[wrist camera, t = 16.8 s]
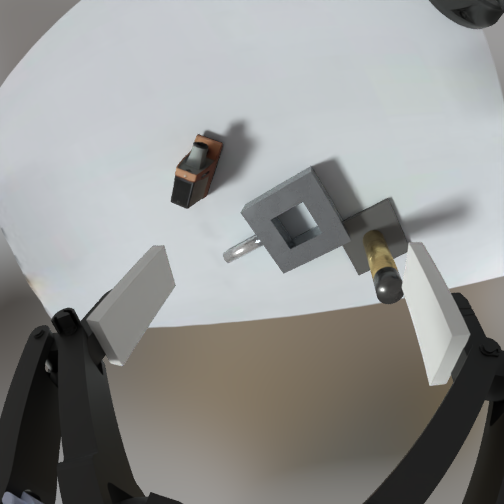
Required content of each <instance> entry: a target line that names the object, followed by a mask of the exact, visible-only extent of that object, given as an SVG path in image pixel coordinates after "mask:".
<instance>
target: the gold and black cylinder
mask: <svg viewBox="0 0 504 504" xmlns="http://www.w3.org/2000/svg"><path fill="white" fill-rule="evenodd" d="M363 245H364V249H365V252H366V256H367V259H368V263H369V267H370V270H371V274H372V278H373V282H374V286H375V290H376V294H377V298H378V300H379V301H380V302H382V303H385V304H392V303H395V302H397V301H399V300H400V299H401V298H402V297H403V295H404V293H403V290H402V283H403V282H402V280H401V277H400V275H399V272H398V270H397V267H396V265H395V262H394V260H393V257H392V255H391V253H390V250H389V248H388V245H387V243H386V241H385V239H384V236H383V234H382V233H381V232H380V231H377V230H371V231H368V232H367V233H366V234H365V235H364V237H363Z"/></svg>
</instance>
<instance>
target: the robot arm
mask: <svg viewBox="0 0 504 504" xmlns="http://www.w3.org/2000/svg"><path fill="white" fill-rule="evenodd" d="M429 1H430V2H431V3H432V4H433V5H434V6H435V7H436V8H437V9H438V10H439V11H440V12H441V13H442V14H444V15H445V16H446V17H448V18H449V19H450V20H452V21H454V22H456V23H457V24H459V25H462V26H464V27H467V28H472V29H482V28H485V27H489V26H491V25H493V24H495V23H496V22H497V21H498V19H499V18H500V17H501V15H502V14H503V13H504V0H429ZM175 286H176V285H175V282H174V278H173V275H172V271H171V268H170V264H169V261H168V257H167V254H166V250H165V246H164V245H161V246H152V247H151V248H150V249H149V250H148V251H147V252H146V253H145V255H144V256H143V257H142V258H141V259H140V260H139V261H138V262H137V263H136V264H135V265H134V266H133V267H132V268H131V269H130V270H129V272H128V273H127V274H126V275H125V276H124V277H123V278H122V279H121V280H120V281H119V282H118V284H117V285H116V286H115V287H114V288H113V289H111V290H110V291H108V292H107V293H105V294H104V295H103V296H102V297H101V299H100V300H99V302H97V303H96V304H95V305H94V307H93V308H92V309H91V310H90V311H89V312H88V313H87V314H86V316H85V317H84V318H83V319H82V320H81V321H80V320H79V318H78V316H77V314H76V312H75V310H74V309H72V308H65V309H62V310H60V311H59V312H57V313H56V314H55V315H54V316H53V318H52V320H51V321H52V323H53V325H54V327H55V329H56V330H57V332H58V333H52V332H51V330H50V328H49V327H48V326H46V325H43V326H39V327H37V328H35V329H34V330H33V331H32V333H31V334H30V336H29V338H28V341H27V343H26V345H25V348H24V350H23V353H22V355H21V358H20V360H19V363H18V366H17V368H16V371H15V374H14V377H13V379H12V382H11V385H10V388H9V391H8V394H7V398H6V401H5V404H4V407H3V411H2V414H1V418H0V504H55V500H56V489H57V476H58V482H59V487H60V493H61V498H62V503H63V504H182V503H181V502H179V501H176V500H173V499H170V498H167V497H164V496H160V495H158V494H155V493H152V492H150V495H149V497H145V495H144V494H143V492H142V490H141V489H140V488H139V486H138V485H137V484H136V482H135V480H134V478H133V474H132V471H131V469H130V465H129V462H128V459H127V456H126V453H125V449H124V446H123V442H122V439H121V435H120V432H119V428H118V424H117V420H116V416H115V412H114V408H113V403H112V398H111V394H110V389H109V384H108V379H107V373H106V368H105V364H104V362H103V360H102V359H103V358H104V356H105V355H106V356H107V358H108V360H109V361H110V363H112V364H116V365H120V366H123V365H124V364H125V362H126V361H127V359H128V357H129V356H130V354H131V353H132V351H133V350H134V348H135V346H136V345H137V343H138V342H139V340H140V339H141V337H142V336H143V334H144V332H145V331H146V329H147V328H148V326H149V325H150V323H151V322H152V320H153V319H154V317H155V316H156V314H157V313H158V311H159V310H160V308H161V307H162V305H163V304H164V302H165V301H166V299H167V298H168V296H169V295H170V293H171V292H172V290H173V289H174V287H175ZM402 290H403V293H404V296H405V299H406V302H407V305H408V308H409V311H410V314H411V318H412V321H413V324H414V327H415V331H416V334H417V338H418V341H419V345H420V348H421V352H422V356H423V360H424V364H425V368H426V372H427V376H428V380H429V385H430V386H432V385H439V384H446V383H447V381H448V379H449V377H450V375H452V378H453V384H452V386H451V388H450V389H449V391H448V393H447V394H446V396H445V398H444V400H443V401H442V403H441V405H440V406H439V408H438V409H437V411H436V413H435V414H434V416H433V418H432V419H431V420H430V422H429V423H428V425H427V426H426V428H425V429H424V431H423V432H422V434H421V435H420V436H419V438H418V439H417V440H416V442H415V443H414V445H413V446H412V447H411V449H410V450H409V451H408V453H407V454H406V455H405V456H404V458H403V459H402V460H401V461H400V463H399V464H398V465H397V466H396V468H395V469H394V470H393V471H392V472H391V474H390V475H389V476H388V477H387V478H386V479H385V480H384V482H383V483H382V484H381V485H380V486H379V487H378V488H377V489H376V490H375V491H374V493H373V494H372V495H371V496H370V497H369V498H368V499H367V500H366V501H365V502H364V503H363V504H424V503H425V502H426V500H427V499H428V498H429V496H430V495H431V493H432V492H433V491H434V489H435V488H436V486H437V485H438V483H439V482H440V480H441V479H442V478H443V476H444V475H445V473H446V472H447V470H448V468H449V467H450V465H451V464H452V462H453V460H454V459H455V457H456V455H457V454H458V452H459V450H460V449H461V447H462V445H463V443H464V441H465V440H466V438H467V436H468V434H469V432H470V430H471V428H472V426H473V424H474V422H475V420H476V418H477V416H478V414H479V412H480V410H481V407H482V405H483V403H484V401H485V400H487V401H489V407H488V413H487V418H486V423H485V428H484V433H483V437H482V442H481V446H480V450H479V454H478V457H477V461H476V464H475V468H474V471H473V474H472V477H471V480H470V483H469V486H468V489H467V492H466V495H465V497H464V500H463V502H462V504H504V351H502V350H501V347H500V346H499V345H498V343H497V342H495V341H494V340H493V339H491V338H487V337H486V336H485V334H484V331H483V329H482V327H481V326H480V323H479V321H478V319H477V317H476V316H475V313H474V311H473V310H472V309H471V306H470V304H469V302H468V300H467V299H466V298H465V297H464V296H463V295H462V294H461V293H450V291H449V289H448V287H447V285H446V283H445V281H444V279H443V278H442V276H441V274H440V272H439V270H438V268H437V267H436V265H435V263H434V261H433V260H432V258H431V256H430V255H429V253H428V251H427V250H426V248H425V246H424V245H423V243H422V242H409V244H408V252H407V259H406V265H405V271H404V277H403V283H402ZM45 364H46V365H47V367H48V368H49V369H48V372H46V370H45ZM61 437H62V447H63V454H64V461H63V462H60V463H58V460H59V449H60V440H61Z"/></svg>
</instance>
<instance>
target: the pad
mask: <svg viewBox="0 0 504 504" xmlns="http://www.w3.org/2000/svg"><path fill="white" fill-rule="evenodd" d="M343 222H344V224H345V226H346V228H347V229H348V231H349V234H350V238H351V241H350V242H348V243H346V244H344V245H342V246H343V247H344V249H345V251H346V253H347V255H348V256H349V258H350V260H351V262H352V264H353V266H354V267H355V269H356V271H357V273H358V275H361V274H363V273H365V272H367V271H369V270H370V267H369V263H368V259H367V256H366V252H365V249H364V245H363V237H364V235H365V234H366V233H367V232H368V231H371V230H377V231H380V232H381V233H382V234H383V236H384V239H385V241H386V243H387V245H388V248H389V250H390V253H391V255H392V257H393V259H394V258H396V257H398V256H400V255H402V254H404V253H406V252H408V243H407V241H406V238H405V236H404V233H403V231H402V229H401V226H400V224H399V222H398V219H397V217H396V215H395V213H394V210H393V208H392V206H391V204H390V202H389V200H388V198H387V199H385V200H383V201H381V202H379V203H377V204H375V205H373V206H371V207H369V208H367V209H365V210H364V211H362V212H360V213H358V214H356V215H354V216H352V217H350V218H348V219H346V220H344V221H343Z"/></svg>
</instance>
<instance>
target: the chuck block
mask: <svg viewBox="0 0 504 504" xmlns="http://www.w3.org/2000/svg"><path fill="white" fill-rule="evenodd" d="M302 202H304V204H305V206H306V207H307V209H308V210H309V212H310V214H311V215H312V217H313V218H314V220H315V222H316V223H317V225H318V226H317V227H315V228H313V229H311V230H309V231H307V232H305V233H303V234H301V235H299V236H297V237H295V238H293V239H291V237H290V236H289V234H288V232H287V231H286V229H285V228H284V226H283V225H282V223H281V222H280V220H279V219H278V218H277V216H278V215H280V214H282V213H284V212H285V211H287V210H289V209H291V208H293V207H295V206H296V205H298V204H300V203H302ZM241 214H242V216H243V217H244V218H245V220H246V221H247V223H248V224H249V225H250V227H251V228H252V230H253V231H254V232H255V234H256V235H255V236H253V237H252V238H250V239H248V240H246V241H244V242H242V243H241V244H239V245H237V246H235V247H233V248H231V249H230V250H228V251H226V252H224V253H223V257H224V260H225V261H226V262H227V263H230V262H232V261H234V260H236V259H238V258H240V257H242V256H244V255H246V254H247V253H249V252H251V251H253V250H255V249H257V248H259V247H261V246H263V245H264V246H265V248H266V249H267V251H268V252H269V254H270V255H271V256H272V258H273V259H274V261H275V262H276V263H277V265H278V266H279V268H280V269H281V271H282V272H283V273H286V272H288V271H290V270H292V269H294V268H296V267H298V266H300V265H303V264H305V263H307V262H309V261H311V260H313V259H315V258H317V257H319V256H321V255H323V254H326V253H328V252H330V251H332V250H334V249H336V248H338V247H340V246H342V245H344V244H346V243H348V242H350V241H351V238H350V234H349V231H348V229H347V228H346V226H345V224H344V222H343V220H342V218H341V216H340V214H339V212H338V211H337V209H336V207H335V205H334V204H333V202H332V200H331V199H330V197H329V195H328V193H327V192H326V190H325V188H324V187H323V185H322V183H321V182H320V180H319V178H318V177H317V175H316V174H315V172H314V170H313V169H312V167H309V168H307V169H305V170H304V171H302V172H300V173H298V174H297V175H295V176H293V177H291V178H290V179H288V180H286V181H284V182H283V183H281V184H279V185H278V186H276V187H274V188H272V189H271V190H269V191H267V192H266V193H264V194H262V195H261V196H259V197H257V198H256V199H254V200H252V201H251V202H249V203H247V204H246V205H245V206H244V208H243V209H242V211H241Z"/></svg>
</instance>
